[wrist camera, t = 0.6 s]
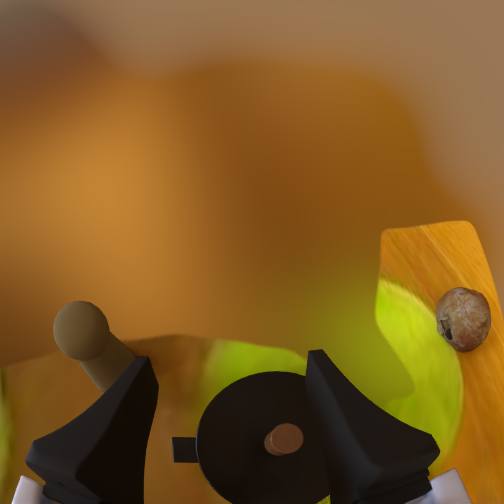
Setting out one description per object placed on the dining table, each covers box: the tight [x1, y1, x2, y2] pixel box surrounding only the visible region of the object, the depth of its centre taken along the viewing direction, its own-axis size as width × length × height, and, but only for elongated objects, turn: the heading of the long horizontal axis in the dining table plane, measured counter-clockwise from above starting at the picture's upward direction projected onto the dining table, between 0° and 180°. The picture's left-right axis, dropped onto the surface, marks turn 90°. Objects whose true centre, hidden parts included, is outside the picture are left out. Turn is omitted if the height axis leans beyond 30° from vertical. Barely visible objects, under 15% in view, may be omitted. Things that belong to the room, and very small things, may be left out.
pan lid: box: [196, 371, 330, 504], centre depth 19 cm, size 14×14×5 cm
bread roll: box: [436, 287, 491, 352], centre depth 33 cm, size 10×10×8 cm
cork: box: [53, 301, 136, 393], centre depth 23 cm, size 6×6×11 cm
